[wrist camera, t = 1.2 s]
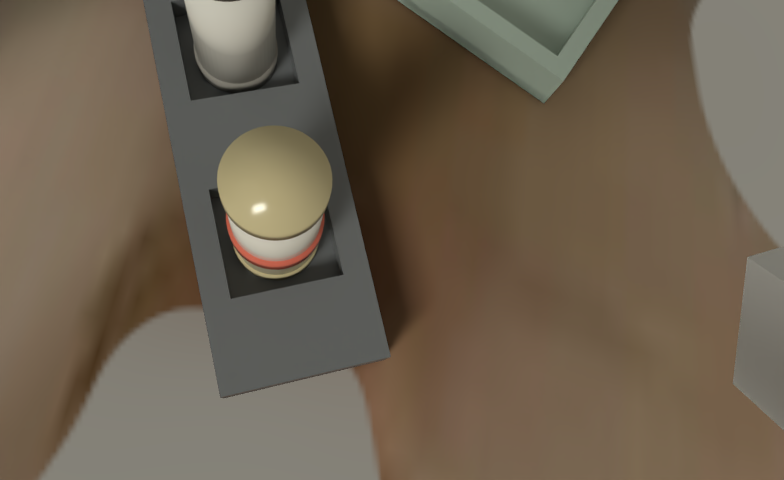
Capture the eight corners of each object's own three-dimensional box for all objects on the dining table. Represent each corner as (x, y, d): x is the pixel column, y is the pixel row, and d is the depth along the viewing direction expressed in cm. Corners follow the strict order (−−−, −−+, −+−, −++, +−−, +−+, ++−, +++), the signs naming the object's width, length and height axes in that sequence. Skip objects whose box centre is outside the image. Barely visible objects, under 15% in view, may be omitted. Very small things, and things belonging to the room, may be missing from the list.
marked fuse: (214, 248, 36) (190, 190, 27) (266, 180, 38) (262, 102, 28) (285, 298, 36) (288, 259, 27) (336, 229, 38) (356, 168, 28)
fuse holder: (383, 359, 37) (390, 356, 35) (224, 398, 36) (220, 397, 34) (284, -60, 42) (284, -89, 39) (138, -43, 40) (129, -71, 38)
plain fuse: (178, 62, 38) (145, -55, 29) (228, 4, 39) (212, -127, 30) (245, 109, 38) (234, 8, 29) (293, 50, 39) (298, -66, 30)
